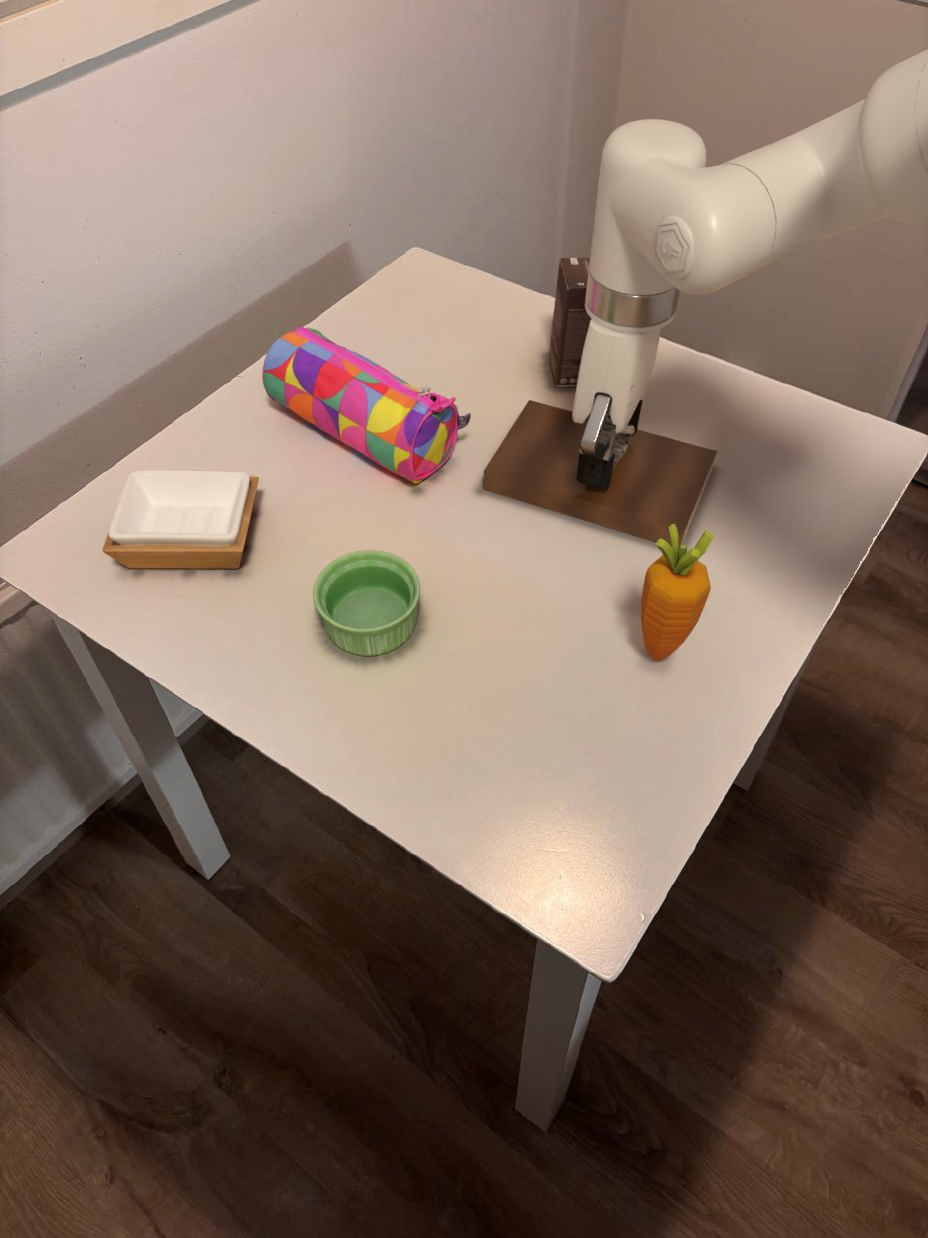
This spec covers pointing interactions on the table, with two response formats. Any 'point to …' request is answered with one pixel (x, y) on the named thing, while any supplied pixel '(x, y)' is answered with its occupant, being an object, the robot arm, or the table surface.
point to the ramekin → (368, 601)
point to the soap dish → (182, 519)
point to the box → (569, 321)
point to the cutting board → (640, 485)
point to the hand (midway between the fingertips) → (607, 455)
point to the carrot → (673, 595)
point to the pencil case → (362, 403)
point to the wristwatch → (618, 440)
